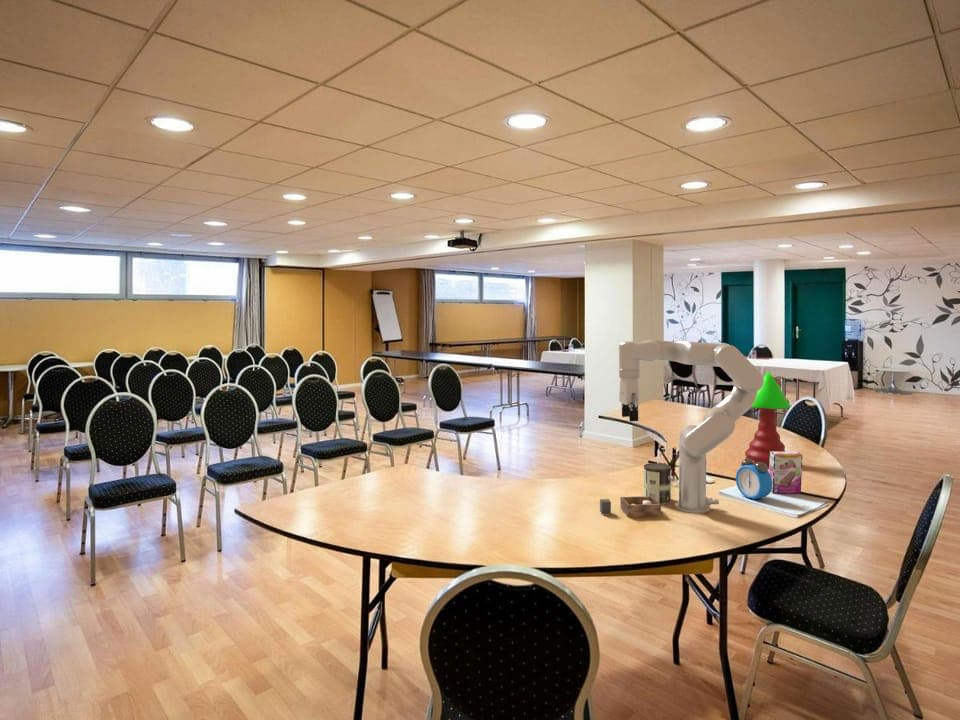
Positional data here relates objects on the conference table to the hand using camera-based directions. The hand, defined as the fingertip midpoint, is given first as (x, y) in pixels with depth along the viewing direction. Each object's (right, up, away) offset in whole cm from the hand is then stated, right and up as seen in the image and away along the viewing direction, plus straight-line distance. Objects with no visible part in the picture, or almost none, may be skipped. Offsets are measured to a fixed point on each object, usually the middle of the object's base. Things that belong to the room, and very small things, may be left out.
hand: (629, 418), depth 224 cm
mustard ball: (0, -34, -7) cm, 35 cm away
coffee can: (+13, -33, +7) cm, 36 cm away
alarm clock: (+52, -33, +10) cm, 62 cm away
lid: (-11, -35, -7) cm, 38 cm away
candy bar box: (+67, -32, +16) cm, 76 cm away
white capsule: (+5, -34, -7) cm, 35 cm away
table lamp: (+82, -28, +61) cm, 106 cm away
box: (+2, -34, -7) cm, 35 cm away
